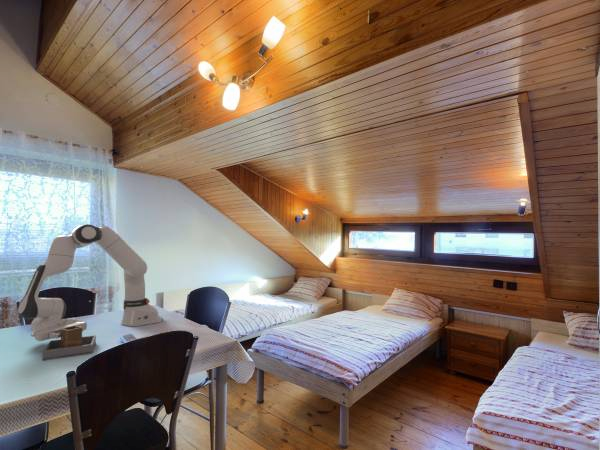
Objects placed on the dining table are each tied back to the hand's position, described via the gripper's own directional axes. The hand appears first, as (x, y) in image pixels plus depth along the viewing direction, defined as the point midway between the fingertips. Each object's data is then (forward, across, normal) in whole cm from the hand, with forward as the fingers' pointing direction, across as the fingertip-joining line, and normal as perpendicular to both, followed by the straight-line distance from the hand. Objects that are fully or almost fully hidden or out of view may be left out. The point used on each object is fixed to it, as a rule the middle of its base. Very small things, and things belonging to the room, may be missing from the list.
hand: (70, 333), depth 148 cm
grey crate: (+1, 0, +8) cm, 8 cm away
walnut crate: (+1, 0, +7) cm, 7 cm away
